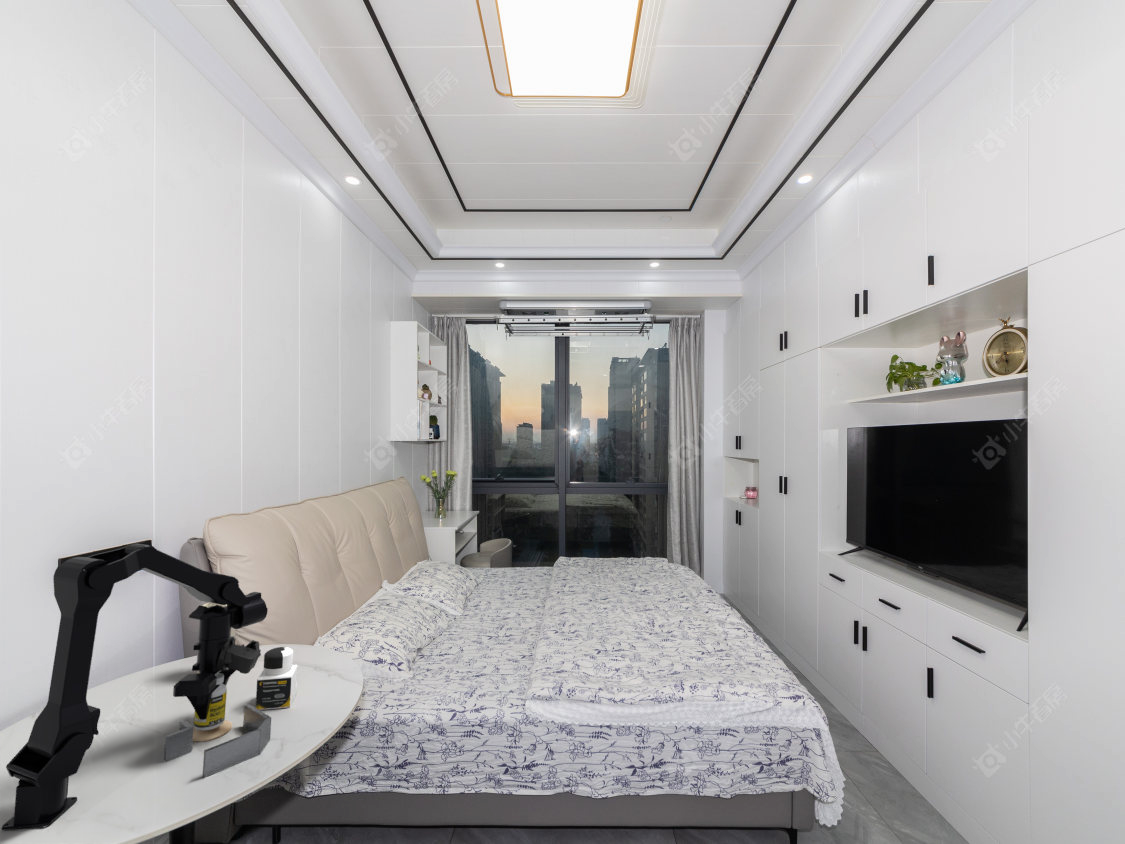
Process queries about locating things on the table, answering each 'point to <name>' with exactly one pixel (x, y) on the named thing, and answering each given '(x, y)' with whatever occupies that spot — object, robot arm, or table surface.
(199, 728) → the supplement bottle
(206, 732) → the coaster
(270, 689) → the medicine bottle
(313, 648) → the table surface
